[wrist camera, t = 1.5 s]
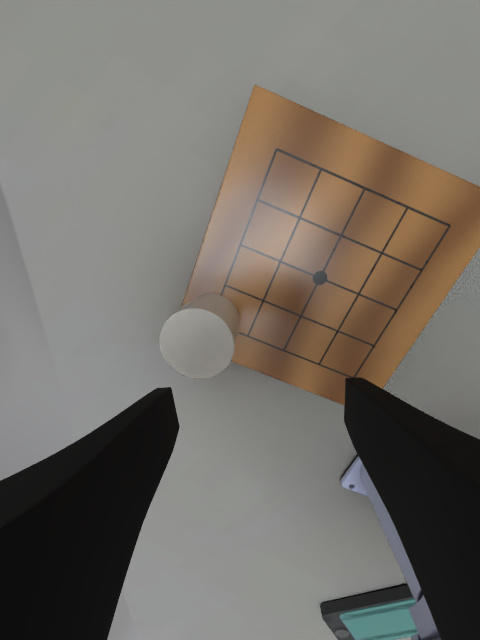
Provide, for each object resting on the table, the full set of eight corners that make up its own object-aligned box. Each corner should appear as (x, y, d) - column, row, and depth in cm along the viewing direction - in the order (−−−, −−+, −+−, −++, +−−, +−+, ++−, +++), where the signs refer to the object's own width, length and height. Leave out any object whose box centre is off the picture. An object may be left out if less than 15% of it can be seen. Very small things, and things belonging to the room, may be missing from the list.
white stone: (248, 306, 17) (246, 326, 13) (227, 356, 19) (218, 389, 14) (193, 283, 17) (171, 296, 13) (175, 335, 18) (150, 363, 14)
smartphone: (321, 618, 28) (455, 591, 25) (318, 603, 29) (446, 575, 26) (345, 651, 29) (474, 630, 26) (341, 635, 31) (464, 613, 28)
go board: (493, 204, 16) (512, 200, 14) (359, 404, 21) (365, 414, 19) (254, 96, 15) (254, 83, 14) (176, 332, 20) (170, 337, 19)
